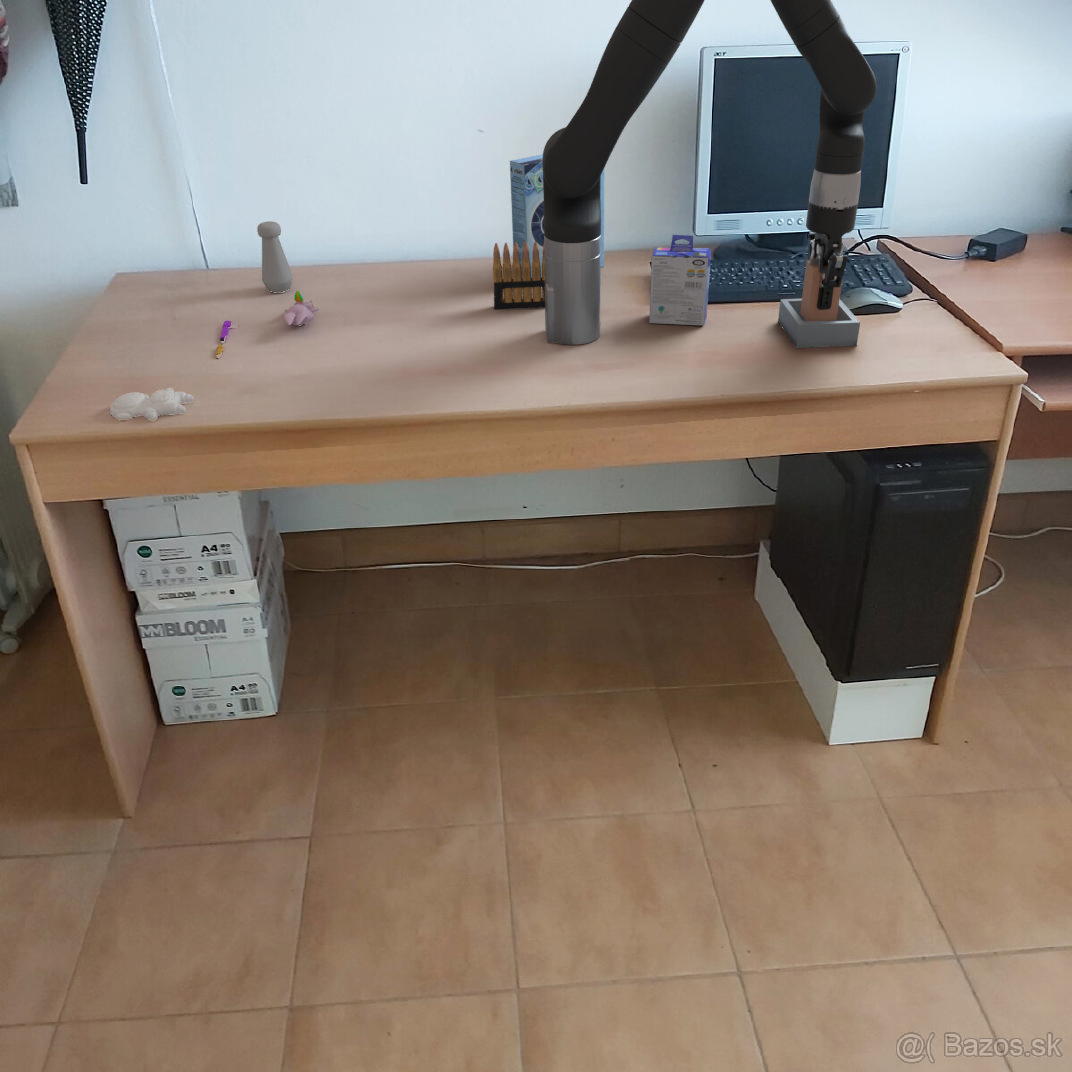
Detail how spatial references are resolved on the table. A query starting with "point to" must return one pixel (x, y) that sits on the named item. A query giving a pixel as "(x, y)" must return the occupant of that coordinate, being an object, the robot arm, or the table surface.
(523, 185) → the blue fan box
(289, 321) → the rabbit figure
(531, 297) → the ammunition clip
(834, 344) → the organizer bin
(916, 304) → the table surface
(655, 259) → the ink cartridge box
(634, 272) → the table surface
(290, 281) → the salt shaker
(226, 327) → the marker pen
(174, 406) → the white flat lumpy piece
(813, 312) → the tan slab
